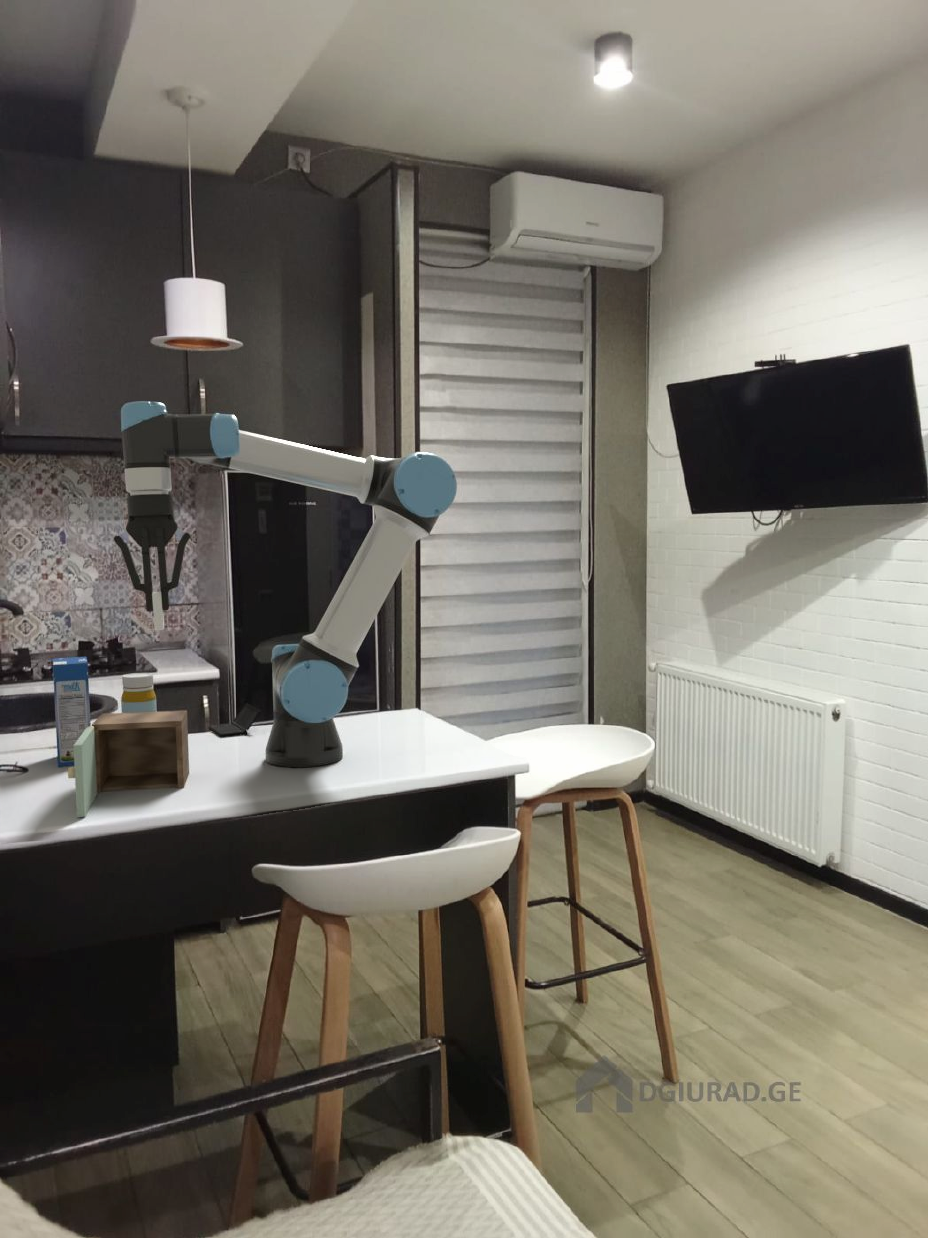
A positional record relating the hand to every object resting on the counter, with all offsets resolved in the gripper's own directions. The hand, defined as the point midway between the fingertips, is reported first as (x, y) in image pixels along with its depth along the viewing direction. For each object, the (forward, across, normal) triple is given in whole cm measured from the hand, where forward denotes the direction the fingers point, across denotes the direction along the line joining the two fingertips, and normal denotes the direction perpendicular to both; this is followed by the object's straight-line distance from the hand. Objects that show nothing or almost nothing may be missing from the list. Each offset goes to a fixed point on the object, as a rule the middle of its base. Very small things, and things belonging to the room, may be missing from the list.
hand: (159, 629), depth 168 cm
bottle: (+28, +7, -36) cm, 47 cm away
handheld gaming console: (+29, -12, -45) cm, 55 cm away
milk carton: (+28, +19, -26) cm, 43 cm away
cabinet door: (+28, +14, +8) cm, 32 cm away
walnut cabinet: (+28, +5, -4) cm, 29 cm away
